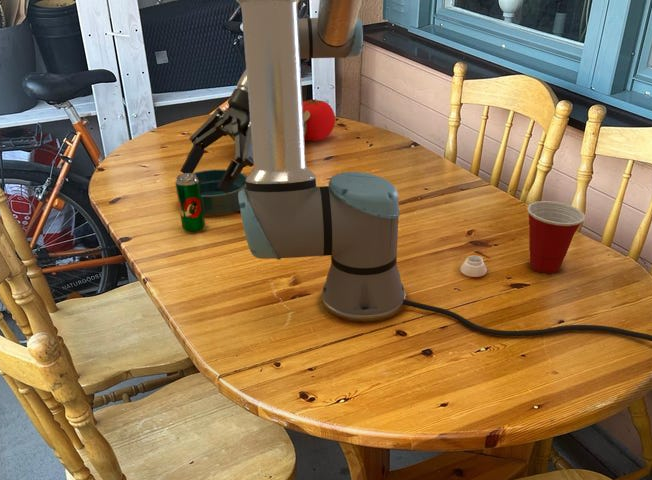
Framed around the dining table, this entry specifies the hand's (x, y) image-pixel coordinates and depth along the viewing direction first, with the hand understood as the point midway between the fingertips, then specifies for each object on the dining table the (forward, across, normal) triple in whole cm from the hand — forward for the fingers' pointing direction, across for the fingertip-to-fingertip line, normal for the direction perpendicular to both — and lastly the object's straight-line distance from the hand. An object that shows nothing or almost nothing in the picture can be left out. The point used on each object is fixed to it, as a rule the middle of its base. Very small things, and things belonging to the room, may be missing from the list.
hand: (203, 182), depth 152 cm
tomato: (-37, +25, -43) cm, 62 cm away
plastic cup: (-17, -66, -31) cm, 75 cm away
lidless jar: (-9, -57, -23) cm, 62 cm away
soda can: (+10, 0, -4) cm, 11 cm away
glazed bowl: (+1, +8, -12) cm, 15 cm away
